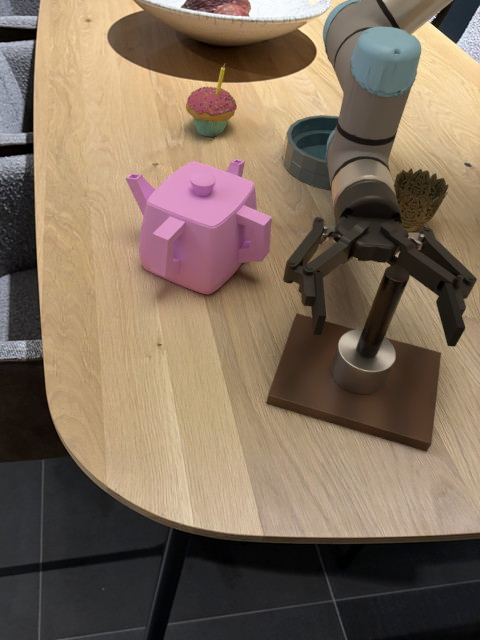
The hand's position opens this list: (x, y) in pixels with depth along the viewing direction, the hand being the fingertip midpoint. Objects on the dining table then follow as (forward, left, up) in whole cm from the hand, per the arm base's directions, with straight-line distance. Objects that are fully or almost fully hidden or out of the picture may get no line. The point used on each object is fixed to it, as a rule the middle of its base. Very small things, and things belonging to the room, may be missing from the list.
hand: (388, 331), depth 60 cm
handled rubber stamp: (+1, -3, -10) cm, 11 cm away
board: (+1, -3, -12) cm, 12 cm away
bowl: (+13, -48, -12) cm, 51 cm away
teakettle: (+26, -18, -12) cm, 34 cm away
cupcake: (+35, -51, -12) cm, 63 cm away
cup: (-1, -36, -12) cm, 38 cm away
